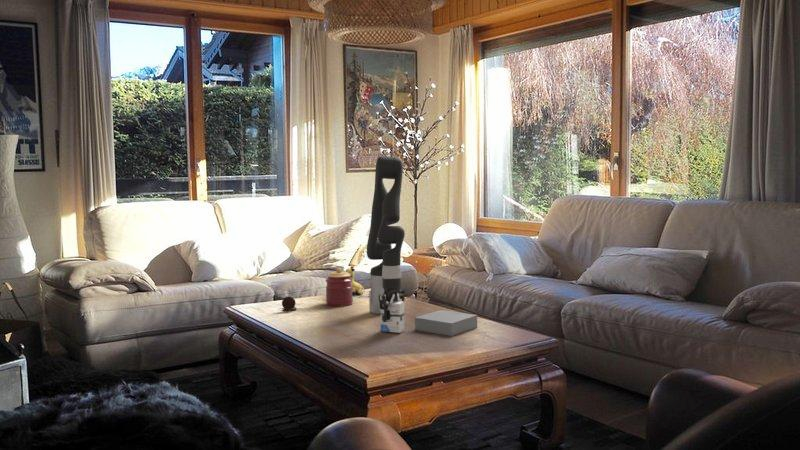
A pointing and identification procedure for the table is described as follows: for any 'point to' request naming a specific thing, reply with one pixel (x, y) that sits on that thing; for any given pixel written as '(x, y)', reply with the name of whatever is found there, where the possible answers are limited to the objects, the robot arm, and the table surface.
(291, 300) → the dark brown round ball
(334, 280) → the canister
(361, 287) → the stuffed giraffe
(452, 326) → the plinth
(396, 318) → the ink box
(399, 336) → the table surface
